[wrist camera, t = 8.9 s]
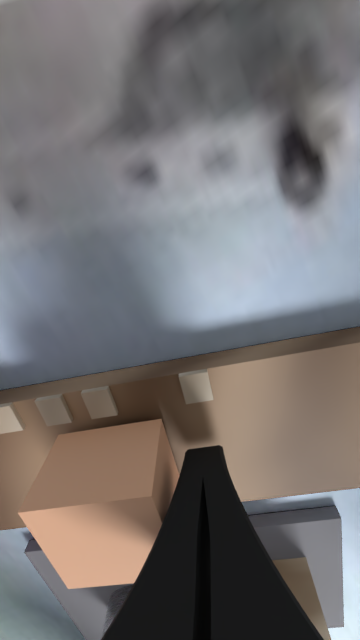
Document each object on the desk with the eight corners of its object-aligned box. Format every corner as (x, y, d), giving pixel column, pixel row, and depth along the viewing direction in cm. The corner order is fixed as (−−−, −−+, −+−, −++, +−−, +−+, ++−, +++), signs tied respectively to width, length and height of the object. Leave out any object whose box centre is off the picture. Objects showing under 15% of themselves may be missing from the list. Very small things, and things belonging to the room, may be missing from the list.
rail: (403, 318, 11) (428, 334, 10) (393, 461, 13) (411, 486, 12) (-75, 403, 13) (-99, 424, 12) (0, 511, 16) (-14, 535, 15)
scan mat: (335, 505, 15) (341, 518, 14) (339, 613, 19) (343, 626, 18) (29, 540, 17) (24, 552, 16) (91, 631, 21) (88, 643, 20)
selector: (161, 418, 11) (151, 496, 8) (185, 493, 13) (183, 578, 10) (58, 434, 12) (17, 513, 9) (93, 504, 13) (68, 588, 10)
